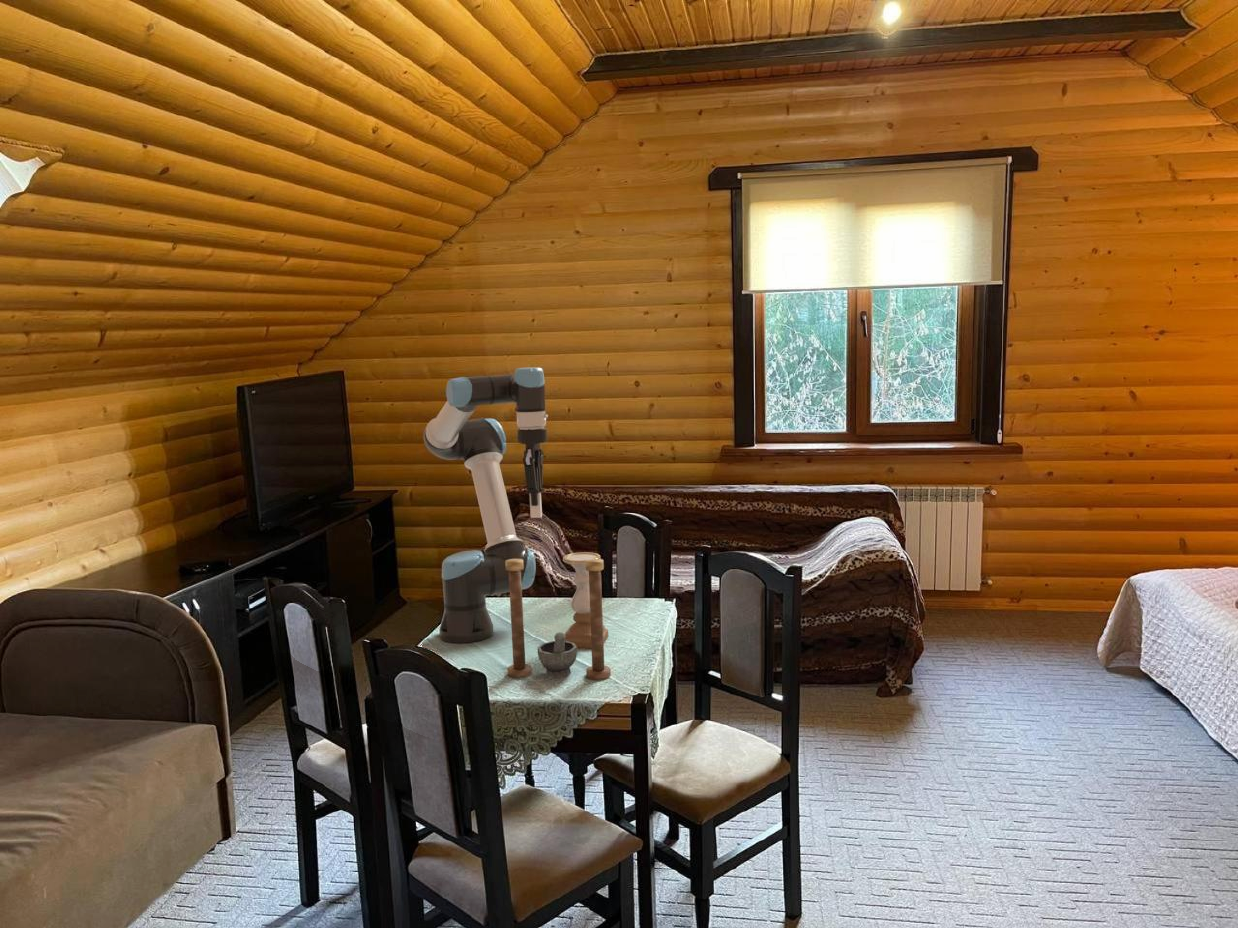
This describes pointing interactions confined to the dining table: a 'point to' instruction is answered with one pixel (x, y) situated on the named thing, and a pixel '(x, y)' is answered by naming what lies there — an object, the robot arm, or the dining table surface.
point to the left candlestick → (517, 620)
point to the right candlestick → (596, 621)
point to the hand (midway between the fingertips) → (536, 517)
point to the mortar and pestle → (557, 656)
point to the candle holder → (581, 601)
